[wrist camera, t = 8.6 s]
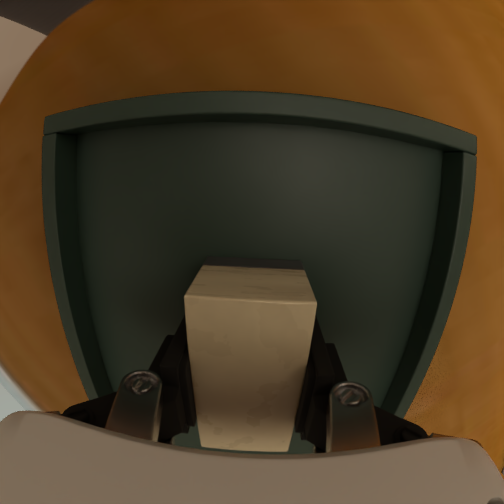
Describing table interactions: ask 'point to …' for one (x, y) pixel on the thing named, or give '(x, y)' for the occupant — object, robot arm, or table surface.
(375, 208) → the tray
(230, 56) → the table surface
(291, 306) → the wooden block
